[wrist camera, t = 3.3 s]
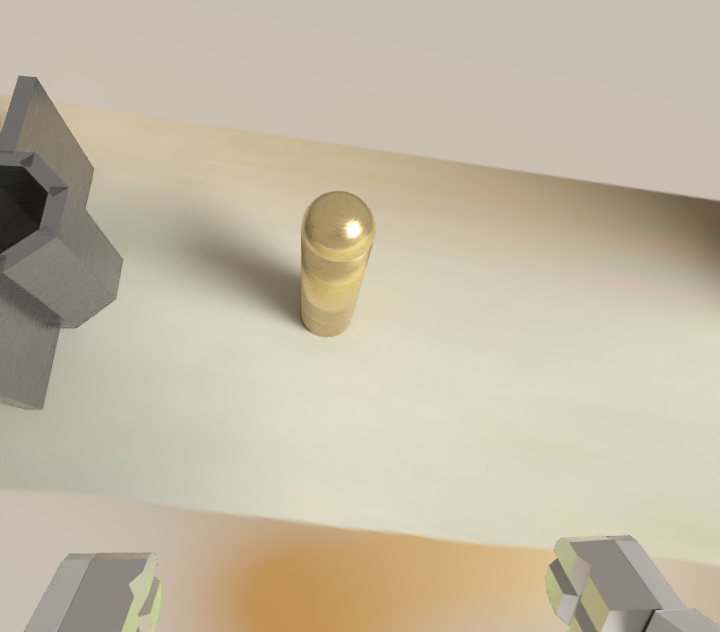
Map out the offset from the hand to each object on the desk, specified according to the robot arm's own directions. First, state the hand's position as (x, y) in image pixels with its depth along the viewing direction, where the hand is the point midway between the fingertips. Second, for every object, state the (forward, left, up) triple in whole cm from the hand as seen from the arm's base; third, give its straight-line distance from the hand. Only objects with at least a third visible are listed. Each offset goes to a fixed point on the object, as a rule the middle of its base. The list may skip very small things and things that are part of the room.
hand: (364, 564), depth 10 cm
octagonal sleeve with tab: (+15, -13, -16) cm, 25 cm away
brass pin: (0, -11, -16) cm, 19 cm away
